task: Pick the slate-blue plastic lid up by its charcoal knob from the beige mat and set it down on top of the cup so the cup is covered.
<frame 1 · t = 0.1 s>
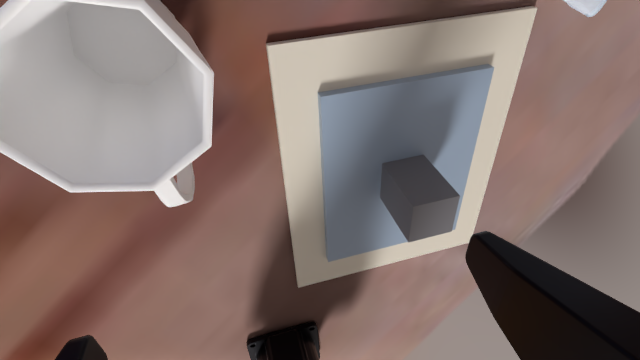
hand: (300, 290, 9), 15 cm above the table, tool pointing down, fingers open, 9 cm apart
lid: (414, 193, 26), on the mat
cup: (144, 58, 19), on the table
mat: (395, 168, 28), on the table
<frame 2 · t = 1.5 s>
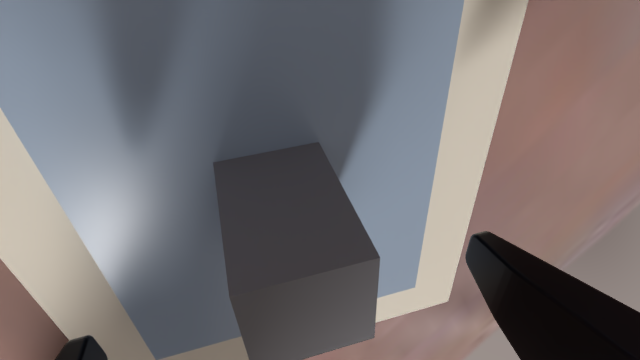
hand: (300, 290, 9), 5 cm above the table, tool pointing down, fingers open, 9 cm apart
lid: (287, 237, 10), on the mat
mat: (267, 173, 13), on the table
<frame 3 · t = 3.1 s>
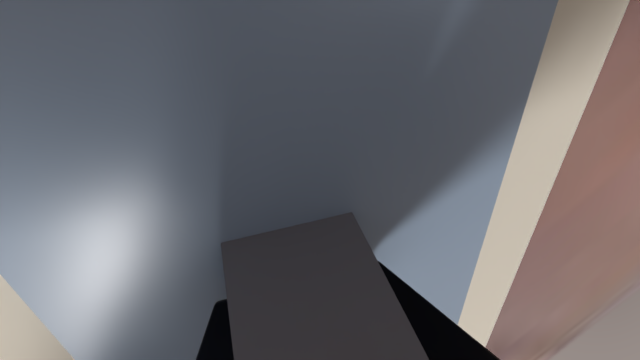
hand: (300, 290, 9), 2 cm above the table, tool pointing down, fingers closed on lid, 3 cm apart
lid: (315, 341, 8), on the mat, touching gripper
mat: (285, 241, 10), on the table
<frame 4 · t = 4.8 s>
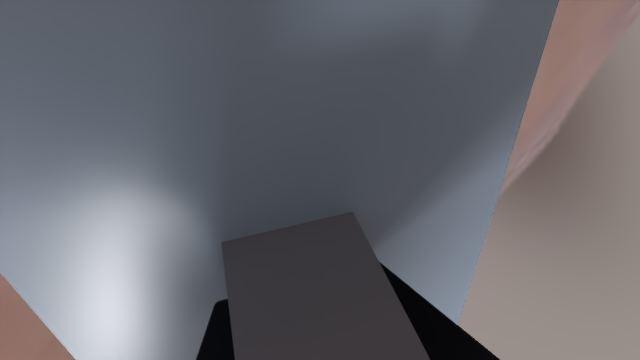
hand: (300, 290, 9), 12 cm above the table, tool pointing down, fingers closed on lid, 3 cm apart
lid: (316, 340, 8), point 13 cm above the table, touching gripper
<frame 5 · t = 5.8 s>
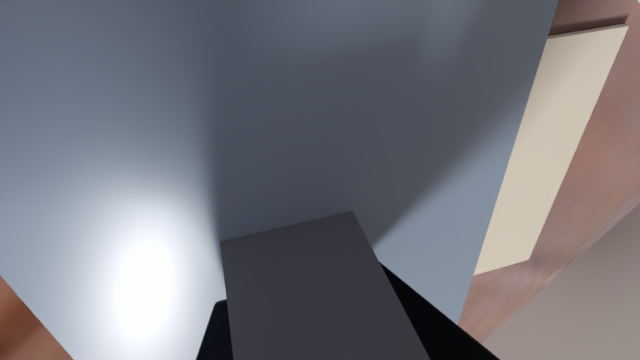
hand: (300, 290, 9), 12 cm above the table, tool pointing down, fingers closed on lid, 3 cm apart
lid: (315, 340, 8), point 13 cm above the table, touching gripper
mat: (466, 188, 27), on the table
when the fingers open (10 cm above the table, at t = 6.7 s): lid stays where it is, resting on cup.
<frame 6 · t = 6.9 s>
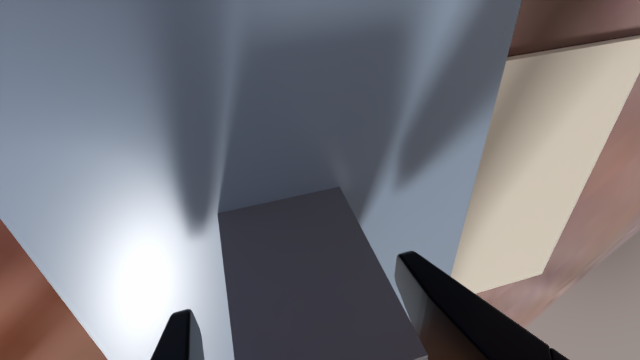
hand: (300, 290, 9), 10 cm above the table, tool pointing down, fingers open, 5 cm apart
lid: (304, 303, 9), point 11 cm above the table, touching cup
mat: (480, 203, 26), on the table
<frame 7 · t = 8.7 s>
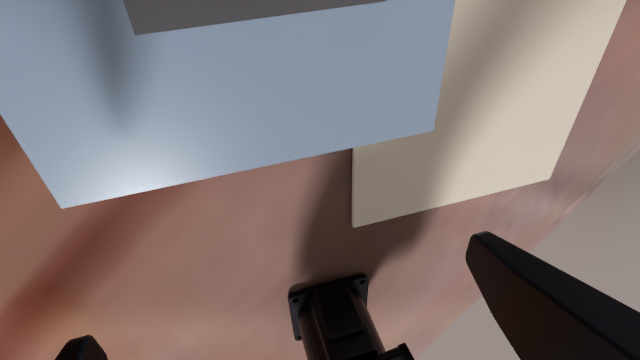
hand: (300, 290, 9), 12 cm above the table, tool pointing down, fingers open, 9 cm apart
mat: (484, 70, 22), on the table
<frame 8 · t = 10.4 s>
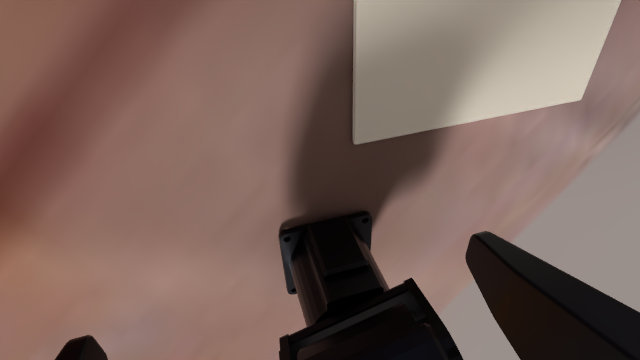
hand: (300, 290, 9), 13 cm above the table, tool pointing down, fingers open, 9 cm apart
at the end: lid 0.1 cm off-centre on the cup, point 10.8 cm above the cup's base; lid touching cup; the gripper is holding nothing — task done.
